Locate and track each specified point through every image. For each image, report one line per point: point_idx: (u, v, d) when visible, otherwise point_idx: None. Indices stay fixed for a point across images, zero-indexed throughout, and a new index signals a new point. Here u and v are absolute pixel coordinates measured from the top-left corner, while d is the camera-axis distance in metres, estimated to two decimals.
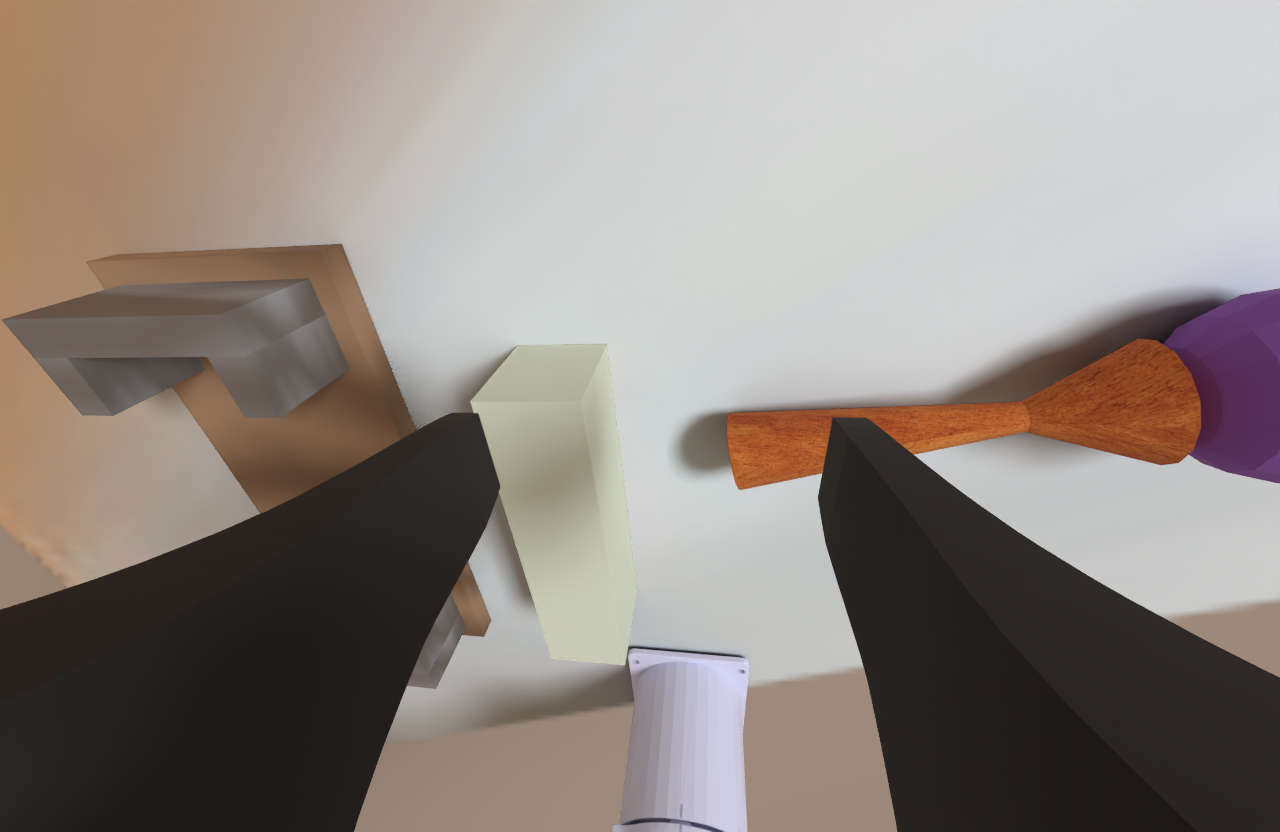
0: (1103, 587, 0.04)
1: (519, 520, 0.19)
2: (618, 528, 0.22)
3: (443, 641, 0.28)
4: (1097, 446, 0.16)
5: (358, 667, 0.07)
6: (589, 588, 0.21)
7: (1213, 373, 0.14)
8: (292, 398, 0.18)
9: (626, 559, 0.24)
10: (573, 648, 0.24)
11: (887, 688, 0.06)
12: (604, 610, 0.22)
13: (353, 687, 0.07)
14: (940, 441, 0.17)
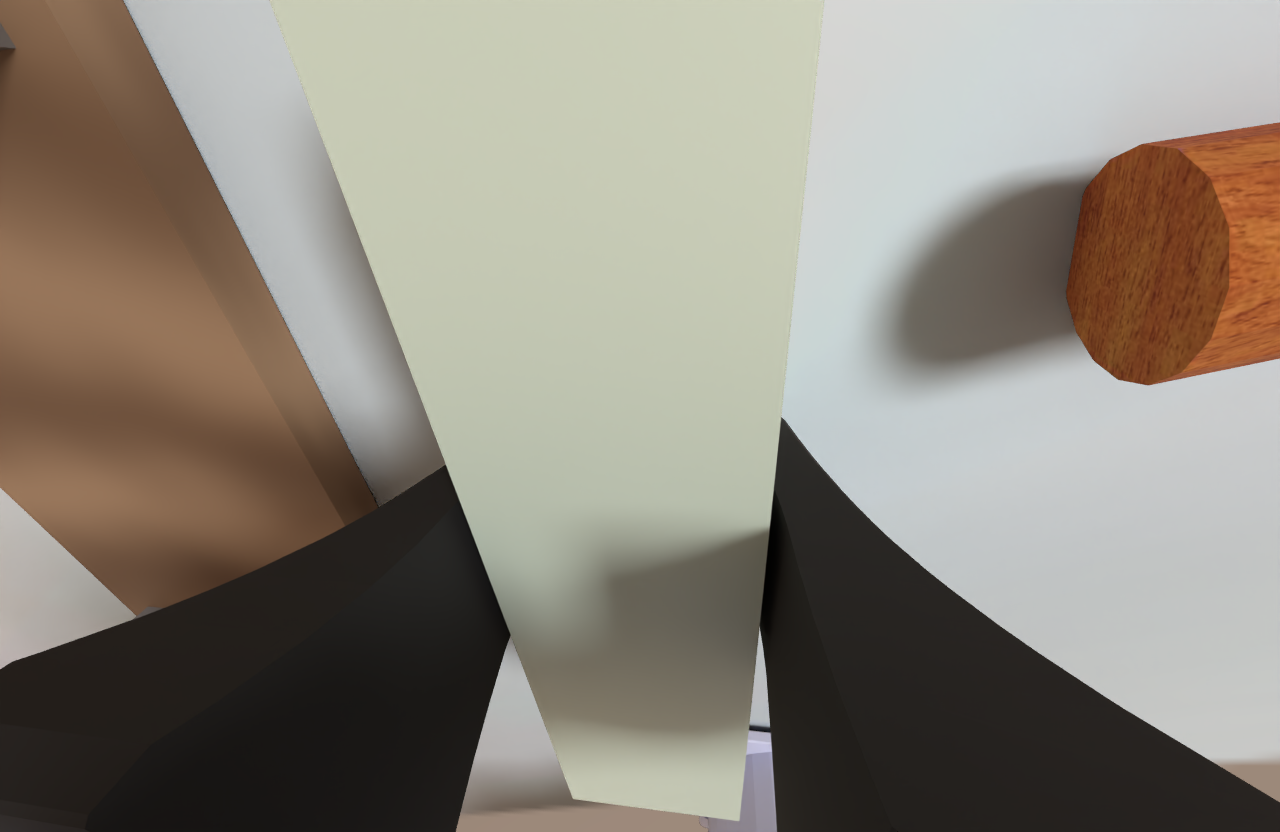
0: (930, 577, 0.05)
1: (488, 476, 0.06)
2: None
3: None
4: None
5: (456, 677, 0.06)
6: (687, 674, 0.08)
7: None
8: None
9: None
10: (624, 786, 0.11)
11: (773, 678, 0.07)
12: (716, 723, 0.08)
13: (452, 697, 0.06)
14: None
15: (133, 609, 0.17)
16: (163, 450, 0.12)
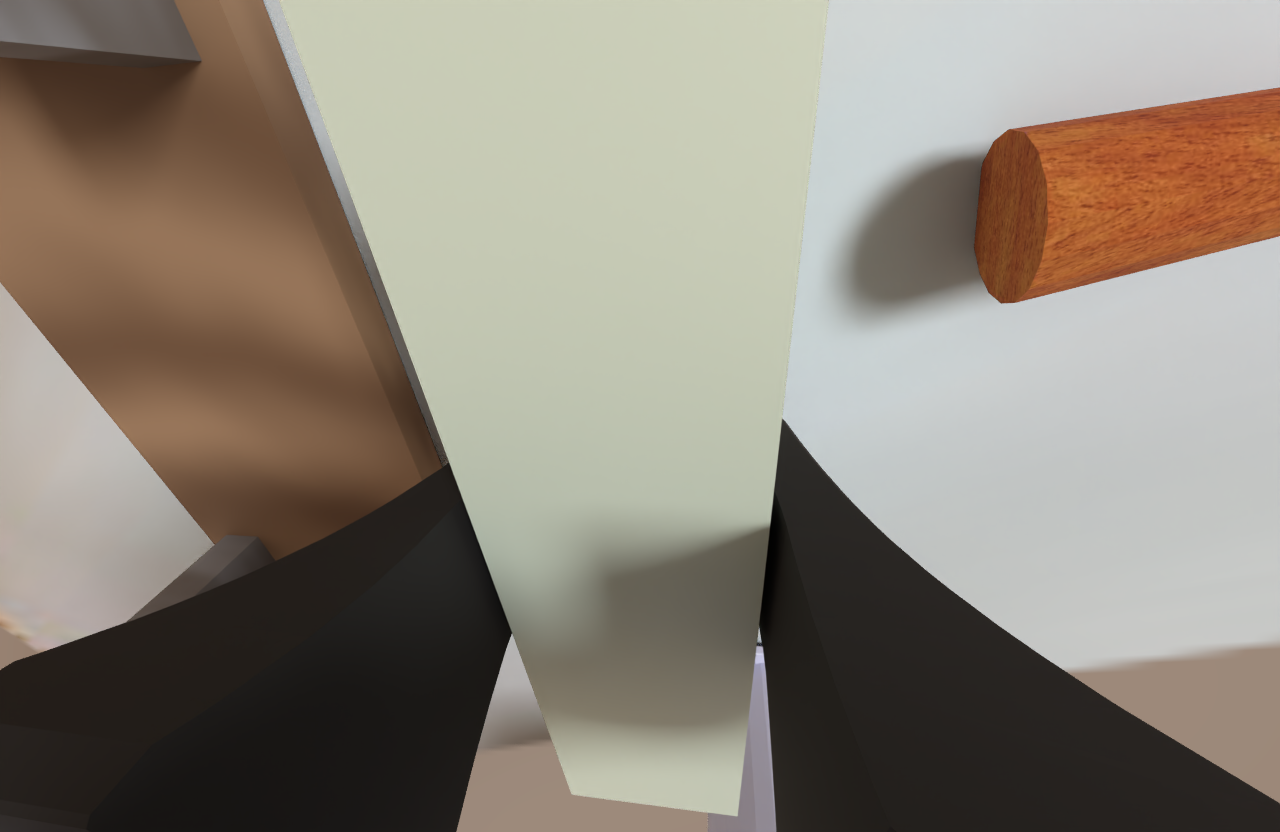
0: (929, 577, 0.05)
1: (490, 470, 0.06)
2: None
3: None
4: None
5: (456, 677, 0.06)
6: (687, 668, 0.08)
7: None
8: None
9: None
10: (623, 781, 0.11)
11: (773, 678, 0.07)
12: (716, 717, 0.08)
13: (453, 698, 0.06)
14: None
15: (212, 539, 0.20)
16: (263, 385, 0.15)
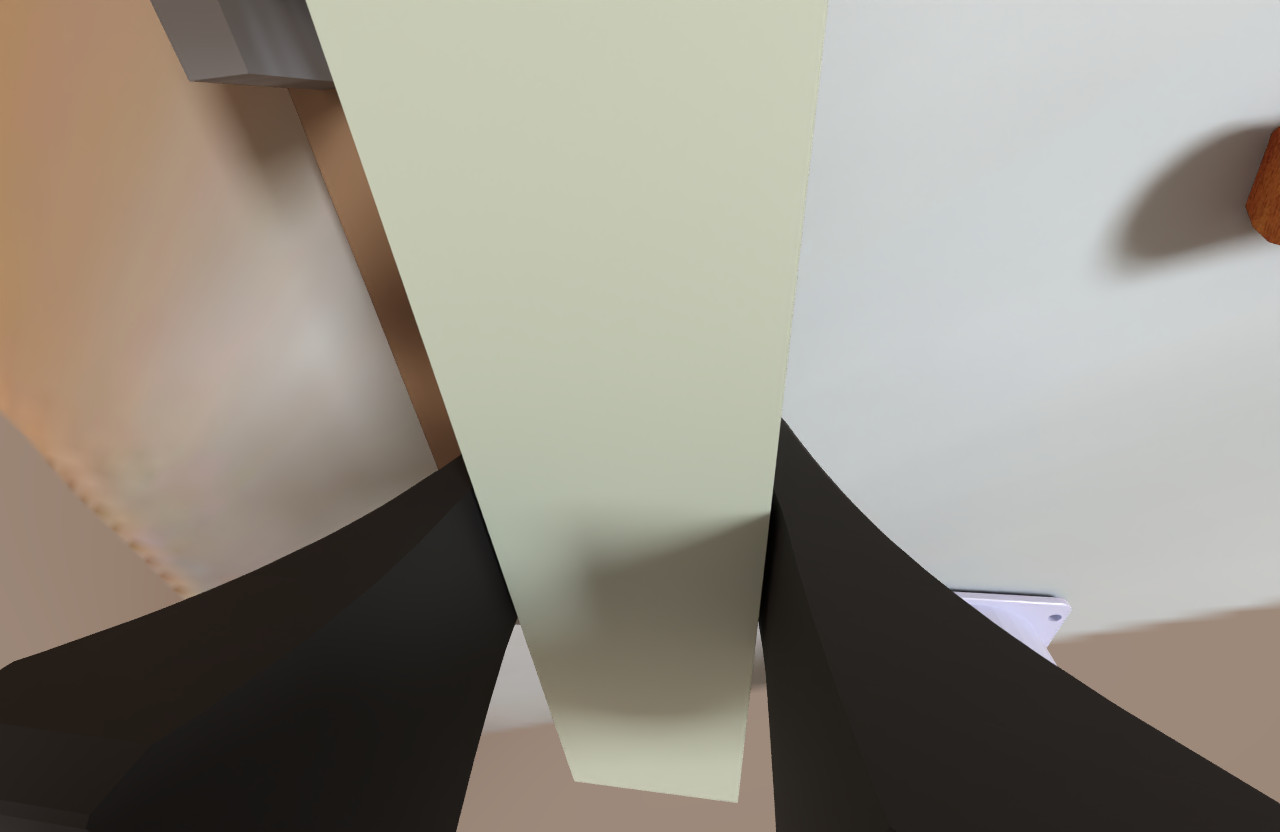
0: (929, 577, 0.05)
1: (499, 455, 0.06)
2: None
3: None
4: None
5: (456, 677, 0.06)
6: (689, 652, 0.08)
7: None
8: None
9: None
10: (625, 768, 0.11)
11: (772, 677, 0.07)
12: (716, 702, 0.09)
13: (452, 698, 0.06)
14: None
15: None
16: None
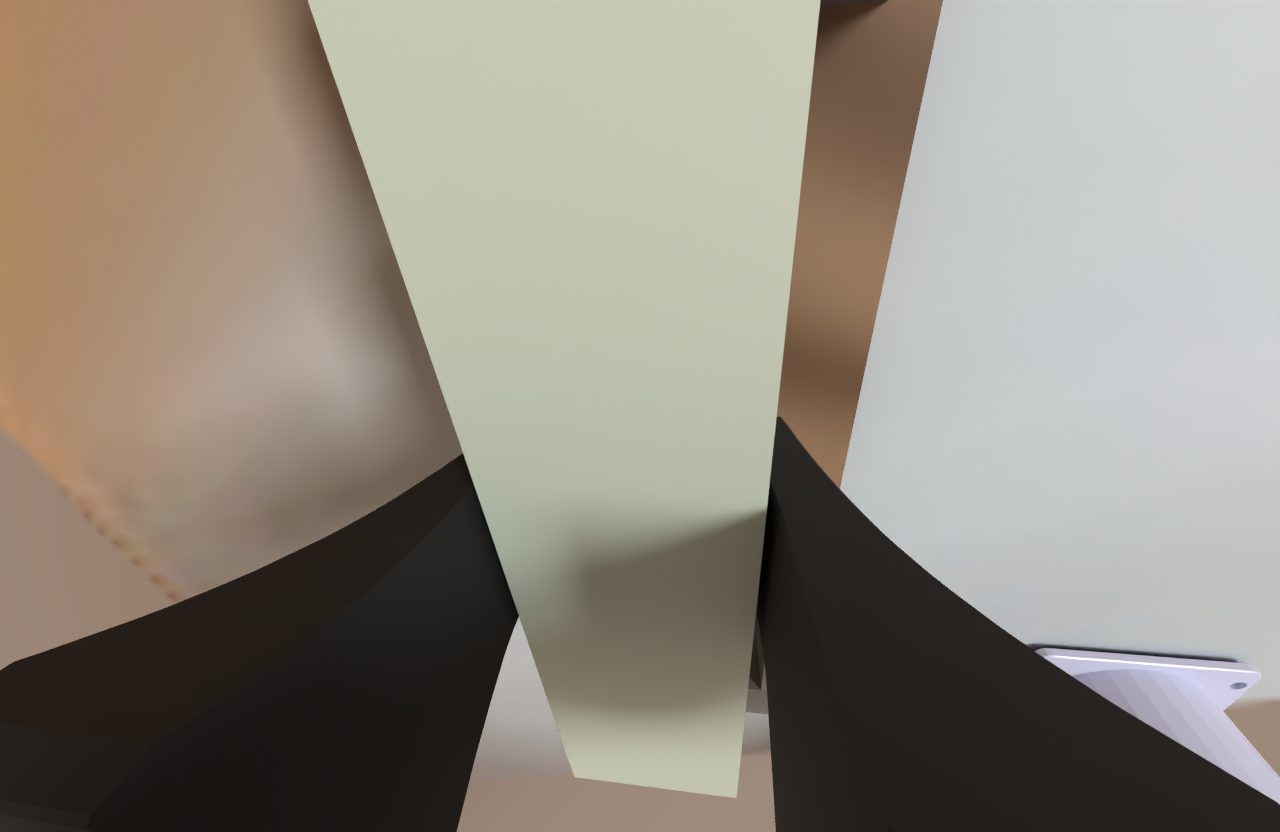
0: (928, 577, 0.05)
1: (499, 450, 0.06)
2: None
3: None
4: None
5: (457, 677, 0.06)
6: (687, 647, 0.08)
7: None
8: None
9: None
10: (624, 763, 0.11)
11: (772, 678, 0.07)
12: (715, 697, 0.09)
13: (453, 698, 0.06)
14: None
15: None
16: None
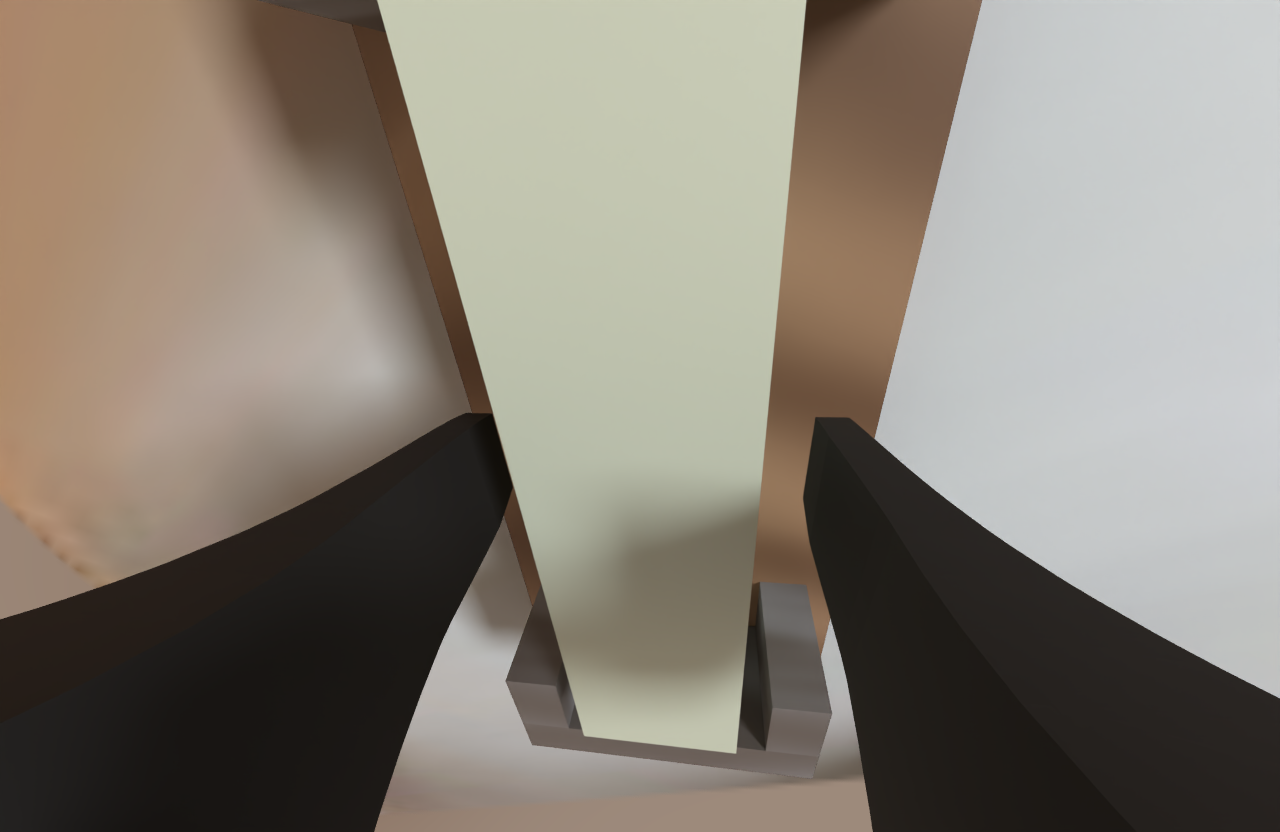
0: (1067, 585, 0.04)
1: (526, 412, 0.07)
2: None
3: None
4: None
5: (377, 669, 0.07)
6: (691, 600, 0.09)
7: None
8: None
9: None
10: (632, 720, 0.12)
11: (863, 686, 0.06)
12: (717, 649, 0.10)
13: (373, 689, 0.07)
14: None
15: (522, 572, 0.17)
16: None
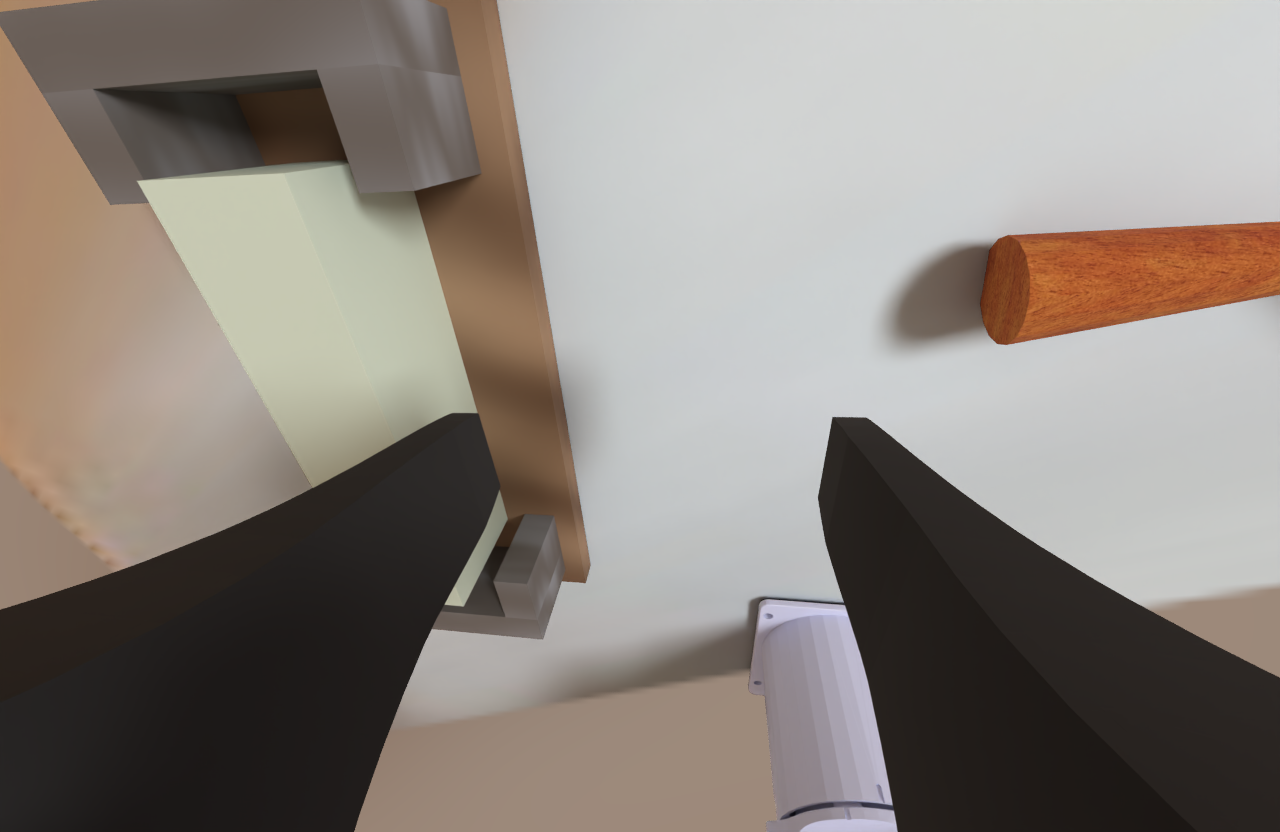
0: (1103, 587, 0.04)
1: (270, 389, 0.14)
2: None
3: (549, 581, 0.22)
4: None
5: (358, 667, 0.07)
6: None
7: None
8: (427, 172, 0.12)
9: None
10: None
11: (887, 688, 0.06)
12: None
13: (353, 687, 0.07)
14: None
15: None
16: None
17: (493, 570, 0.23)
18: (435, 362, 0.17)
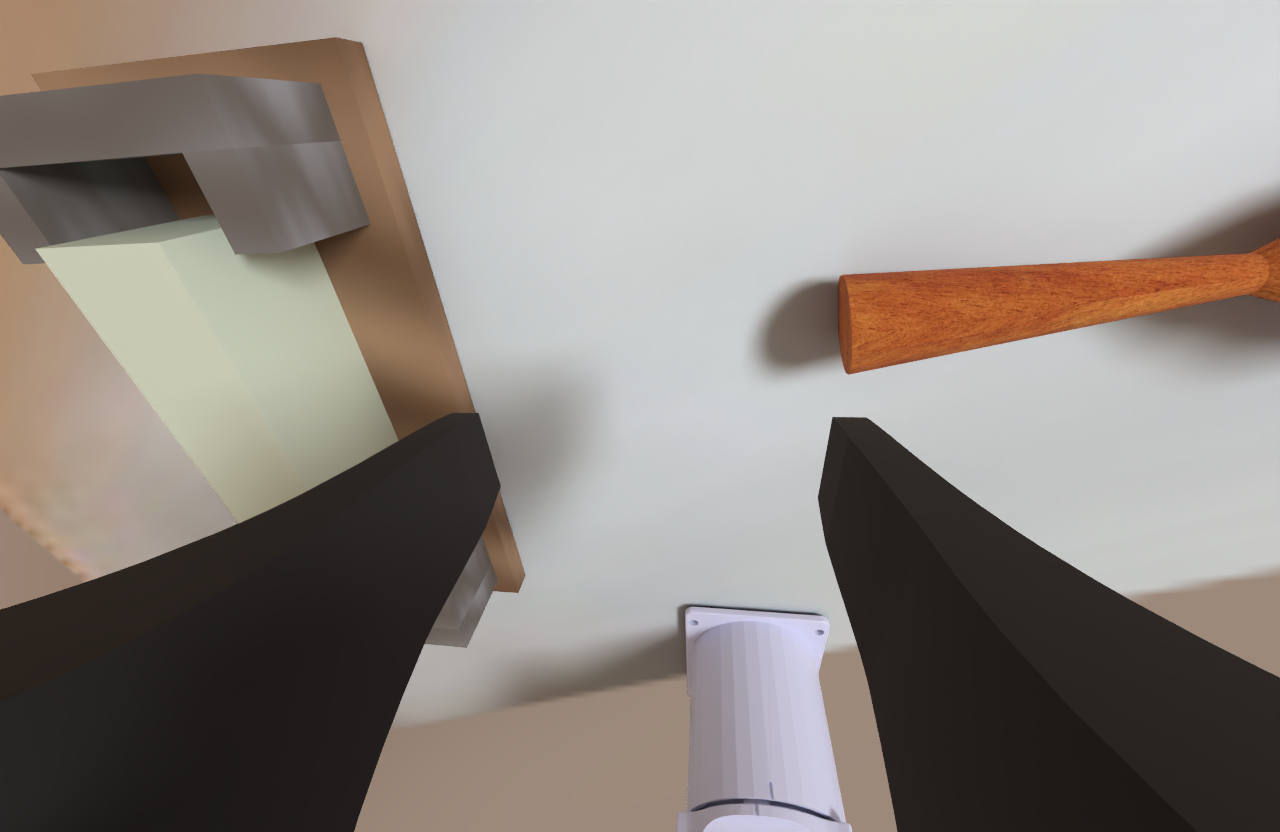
0: (1103, 587, 0.04)
1: (178, 424, 0.16)
2: (350, 449, 0.19)
3: (474, 592, 0.24)
4: None
5: (358, 667, 0.07)
6: None
7: None
8: (298, 233, 0.13)
9: None
10: None
11: (887, 688, 0.06)
12: None
13: (353, 687, 0.07)
14: (1140, 300, 0.13)
15: None
16: None
17: None
18: (342, 393, 0.18)
